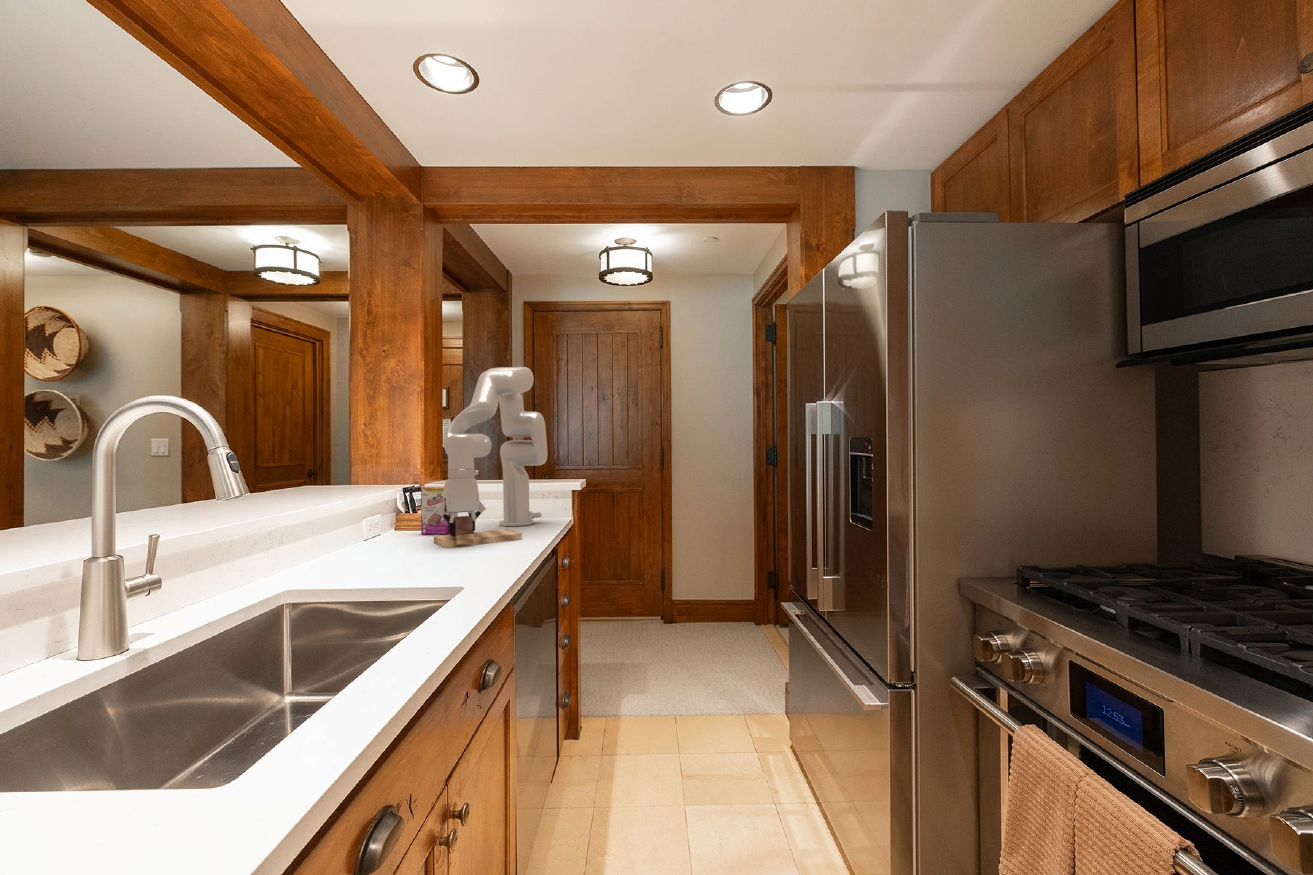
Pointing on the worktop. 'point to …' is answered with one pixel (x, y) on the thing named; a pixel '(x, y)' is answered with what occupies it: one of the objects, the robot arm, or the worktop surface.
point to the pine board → (480, 538)
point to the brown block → (463, 530)
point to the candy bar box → (433, 511)
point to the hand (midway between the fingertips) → (461, 533)
